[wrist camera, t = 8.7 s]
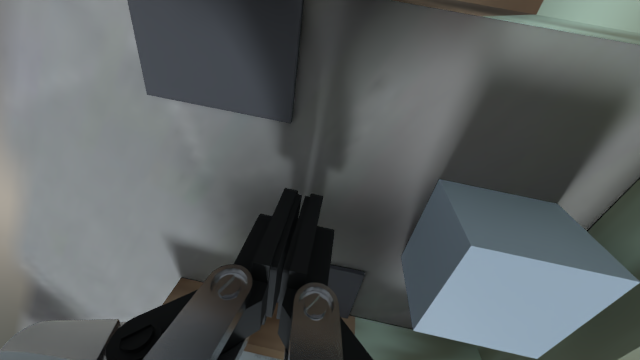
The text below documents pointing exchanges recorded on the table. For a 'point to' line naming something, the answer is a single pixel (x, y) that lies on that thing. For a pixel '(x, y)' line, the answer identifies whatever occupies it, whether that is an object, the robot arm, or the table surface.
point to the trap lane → (610, 231)
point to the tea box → (255, 356)
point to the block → (505, 271)
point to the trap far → (344, 287)
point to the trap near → (221, 52)
